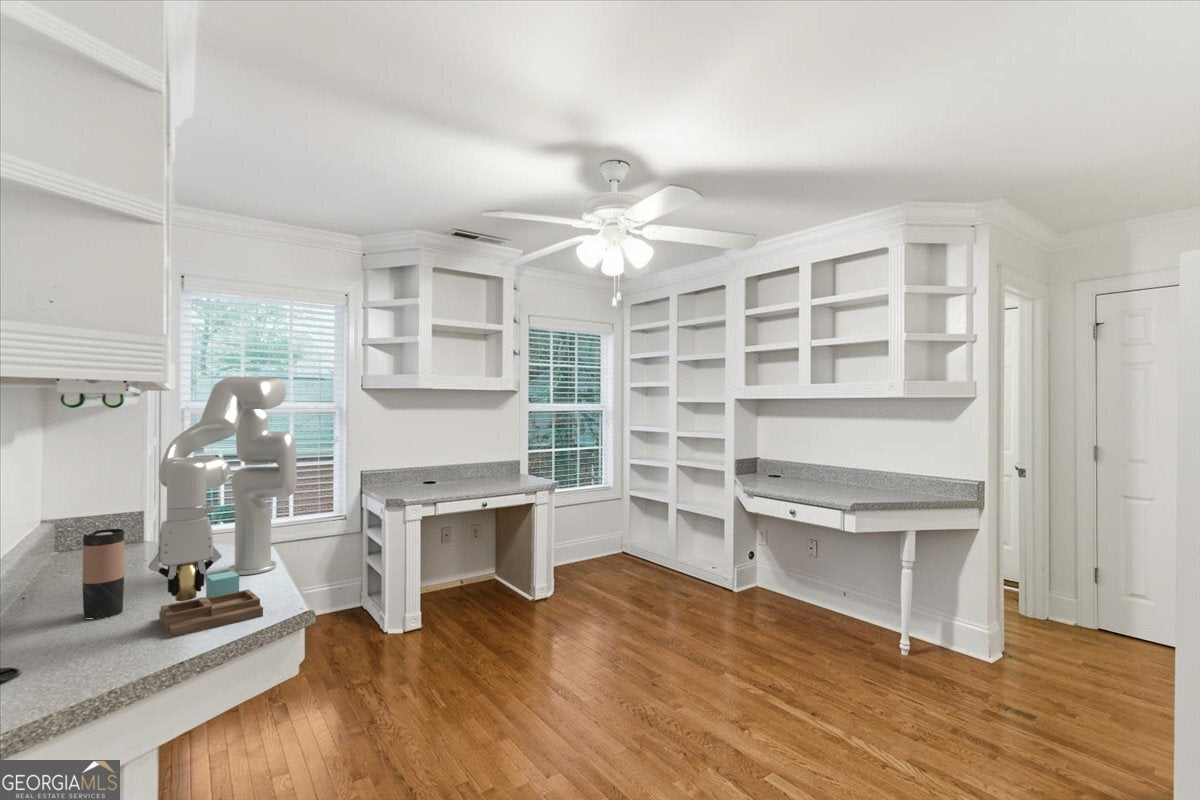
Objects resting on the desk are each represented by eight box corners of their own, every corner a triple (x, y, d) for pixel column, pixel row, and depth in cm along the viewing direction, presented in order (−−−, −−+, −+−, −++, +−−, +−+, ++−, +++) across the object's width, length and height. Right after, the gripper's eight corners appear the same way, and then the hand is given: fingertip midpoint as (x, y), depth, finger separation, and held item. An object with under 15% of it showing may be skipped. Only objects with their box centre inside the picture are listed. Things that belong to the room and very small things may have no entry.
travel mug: (125, 614, 138) (125, 532, 138) (83, 623, 133) (83, 537, 133) (122, 606, 143) (122, 527, 143) (81, 614, 138) (82, 532, 138)
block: (206, 598, 150) (206, 575, 150) (232, 592, 154) (232, 570, 154) (212, 604, 145) (212, 580, 146) (239, 598, 150) (239, 575, 150)
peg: (173, 598, 132) (174, 563, 132) (194, 594, 135) (194, 560, 135) (177, 602, 130) (177, 567, 130) (198, 598, 132) (198, 563, 132)
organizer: (158, 619, 135) (158, 602, 135) (245, 600, 148) (246, 585, 148) (169, 638, 124) (169, 619, 124) (262, 615, 137) (263, 599, 137)
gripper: (224, 507, 141) (224, 581, 141) (138, 516, 129) (137, 597, 129) (232, 511, 136) (231, 587, 136) (143, 521, 124) (142, 605, 124)
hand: (186, 591), depth 132 cm, fingers closed on peg, 4 cm apart
